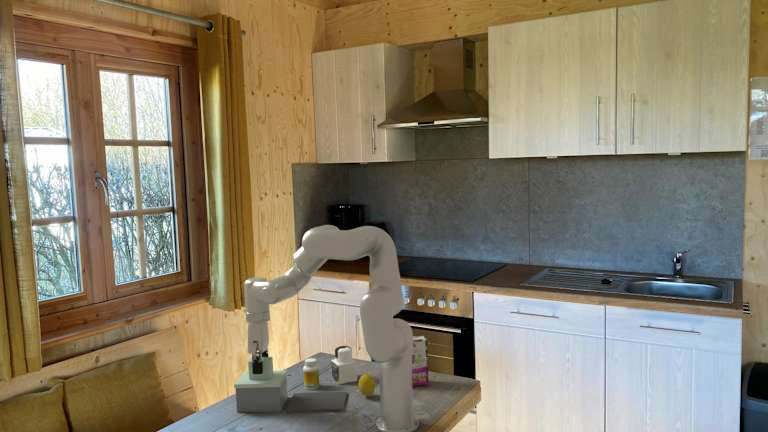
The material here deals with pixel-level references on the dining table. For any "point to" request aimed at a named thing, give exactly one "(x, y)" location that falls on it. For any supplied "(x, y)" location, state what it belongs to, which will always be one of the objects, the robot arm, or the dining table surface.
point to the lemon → (366, 385)
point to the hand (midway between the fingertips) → (260, 369)
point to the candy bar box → (419, 361)
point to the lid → (261, 376)
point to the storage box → (261, 398)
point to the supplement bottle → (311, 374)
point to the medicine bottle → (344, 366)
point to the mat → (317, 402)
